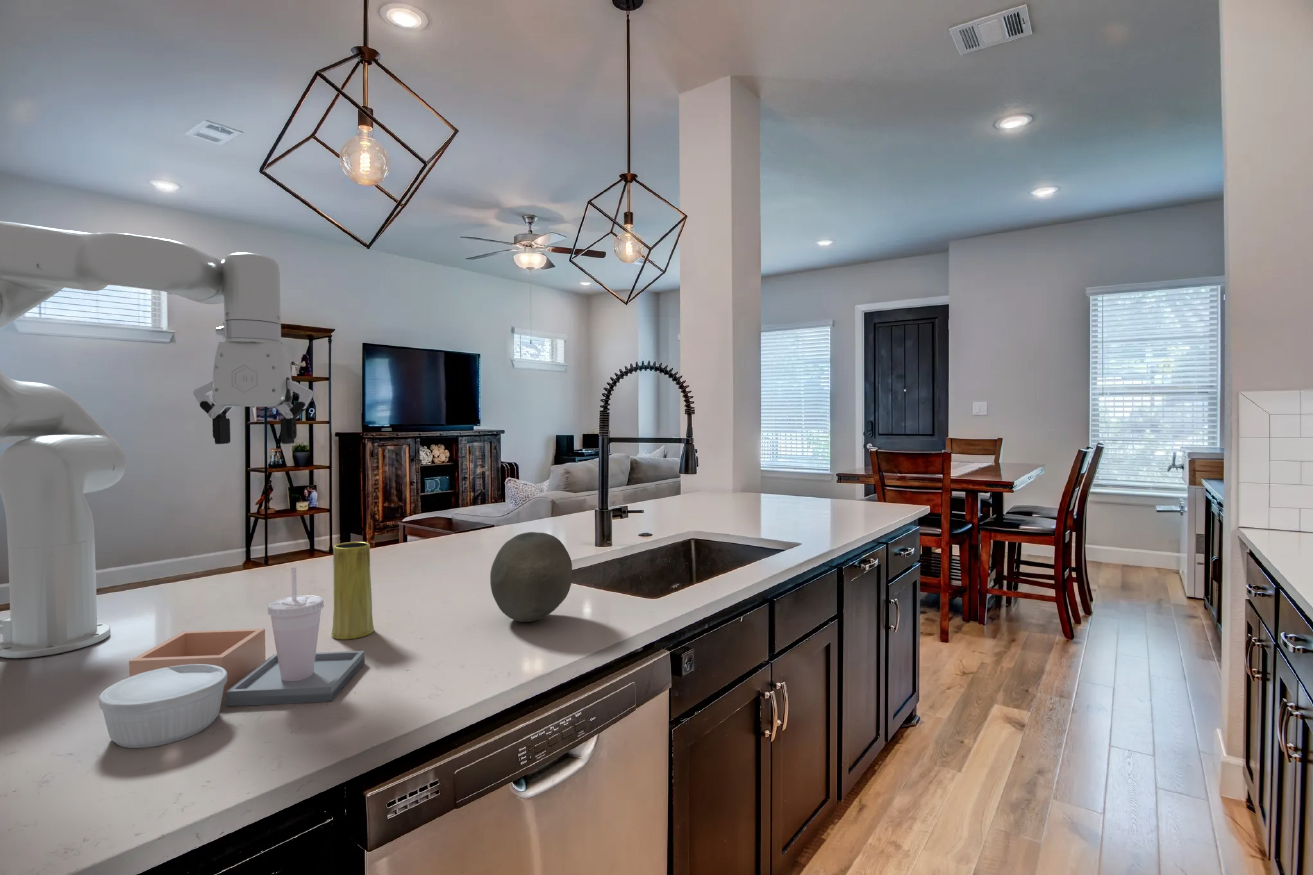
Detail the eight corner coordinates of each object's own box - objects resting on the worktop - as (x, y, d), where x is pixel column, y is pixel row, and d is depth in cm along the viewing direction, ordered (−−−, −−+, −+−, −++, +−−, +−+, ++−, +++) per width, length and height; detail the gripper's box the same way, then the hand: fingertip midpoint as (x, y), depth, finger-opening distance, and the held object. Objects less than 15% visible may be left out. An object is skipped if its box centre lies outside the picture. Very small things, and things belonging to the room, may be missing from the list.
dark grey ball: (472, 630, 103) (471, 538, 103) (516, 605, 117) (516, 524, 116) (551, 639, 99) (550, 544, 99) (587, 612, 113) (587, 528, 112)
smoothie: (312, 661, 87) (311, 560, 87) (333, 674, 83) (332, 568, 83) (260, 676, 82) (258, 569, 82) (280, 690, 78) (278, 577, 78)
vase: (357, 641, 98) (356, 549, 98) (322, 638, 99) (321, 547, 99) (381, 628, 104) (380, 541, 104) (348, 625, 105) (347, 540, 105)
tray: (226, 706, 76) (225, 691, 76) (274, 666, 88) (273, 654, 88) (331, 701, 78) (331, 686, 78) (364, 663, 90) (364, 650, 90)
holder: (130, 701, 78) (128, 660, 77) (184, 667, 88) (183, 631, 88) (223, 697, 79) (222, 657, 79) (265, 663, 89) (264, 628, 89)
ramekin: (248, 705, 77) (248, 662, 77) (183, 754, 66) (182, 704, 66) (153, 706, 77) (152, 663, 76) (71, 755, 65) (69, 705, 65)
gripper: (179, 331, 96) (181, 445, 96) (301, 333, 98) (302, 444, 98) (208, 337, 103) (210, 442, 104) (320, 338, 105) (322, 442, 106)
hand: (255, 443), depth 101 cm, fingers open, 9 cm apart
